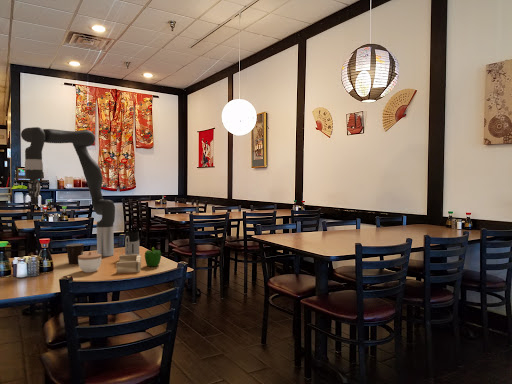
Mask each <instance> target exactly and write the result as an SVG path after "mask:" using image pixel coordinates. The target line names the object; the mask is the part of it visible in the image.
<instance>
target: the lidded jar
mask: <svg viewBox="0 0 512 384" xmlns="http://www.w3.org/2000/svg"><path fill="white" fill-rule="evenodd" d="M102 257H103V256H102V255H101V254H98V253H97V252H96V253H95V252H94V253H92V252H91V251H88V253H83V255H79V256H78V263H79V264H78V266H79V269H80V270H81V271H83V273H93V272H97V270H99V268H100V267H101V264H102Z"/></svg>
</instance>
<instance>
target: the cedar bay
mask: <svg viewBox="0 0 512 384" xmlns="http://www.w3.org/2000/svg"><path fill="white" fill-rule="evenodd" d="M118 258H119V259H118V261H117V262H116V264H115V265H116V267H115V269H116V274H127V273H140V272H141V271H142V270H141V269H142V254H141V253H139V254H134V255H125V254H119V256H118Z"/></svg>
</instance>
